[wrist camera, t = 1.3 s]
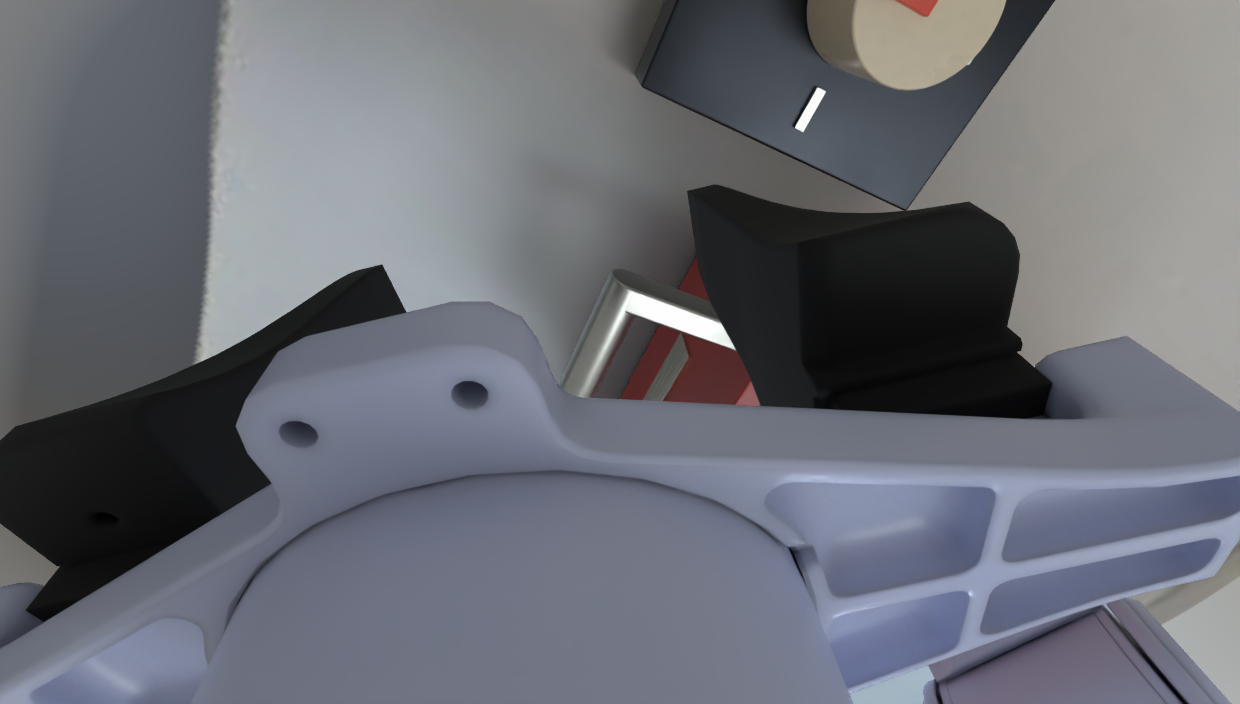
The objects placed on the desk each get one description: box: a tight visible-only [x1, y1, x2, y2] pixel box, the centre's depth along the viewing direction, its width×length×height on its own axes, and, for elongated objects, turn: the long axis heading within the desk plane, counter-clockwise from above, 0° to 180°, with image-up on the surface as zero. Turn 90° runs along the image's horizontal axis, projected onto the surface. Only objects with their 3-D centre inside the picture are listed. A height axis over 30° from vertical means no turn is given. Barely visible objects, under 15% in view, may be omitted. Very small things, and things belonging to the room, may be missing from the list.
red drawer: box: [558, 256, 760, 406], centre depth 23 cm, size 6×13×9 cm, turn 156°
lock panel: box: [635, 0, 1055, 211], centre depth 19 cm, size 11×9×3 cm
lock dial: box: [807, 0, 1006, 91], centre depth 16 cm, size 4×4×4 cm
